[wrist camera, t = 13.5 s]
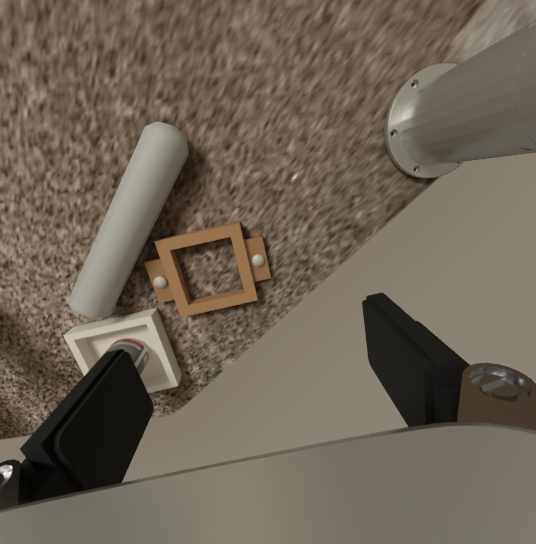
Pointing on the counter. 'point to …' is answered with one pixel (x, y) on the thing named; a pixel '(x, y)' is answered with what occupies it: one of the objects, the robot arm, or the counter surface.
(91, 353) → the parts tray
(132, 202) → the tube
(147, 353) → the pill bottle
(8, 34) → the counter surface
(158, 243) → the brown flat square frame
